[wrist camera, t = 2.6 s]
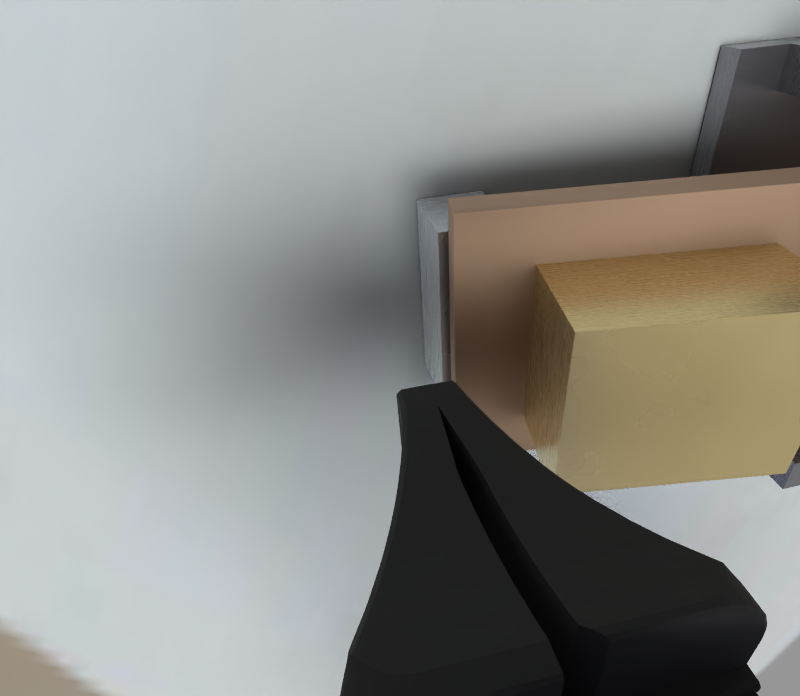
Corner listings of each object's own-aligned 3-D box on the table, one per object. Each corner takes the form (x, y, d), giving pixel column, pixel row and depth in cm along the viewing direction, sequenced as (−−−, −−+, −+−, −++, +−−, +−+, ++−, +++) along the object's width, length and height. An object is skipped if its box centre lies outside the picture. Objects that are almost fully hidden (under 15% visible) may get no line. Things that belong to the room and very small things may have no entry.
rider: (722, 396, 16) (786, 473, 14) (523, 414, 16) (552, 495, 14) (777, 243, 14) (869, 305, 11) (536, 264, 14) (575, 332, 11)
